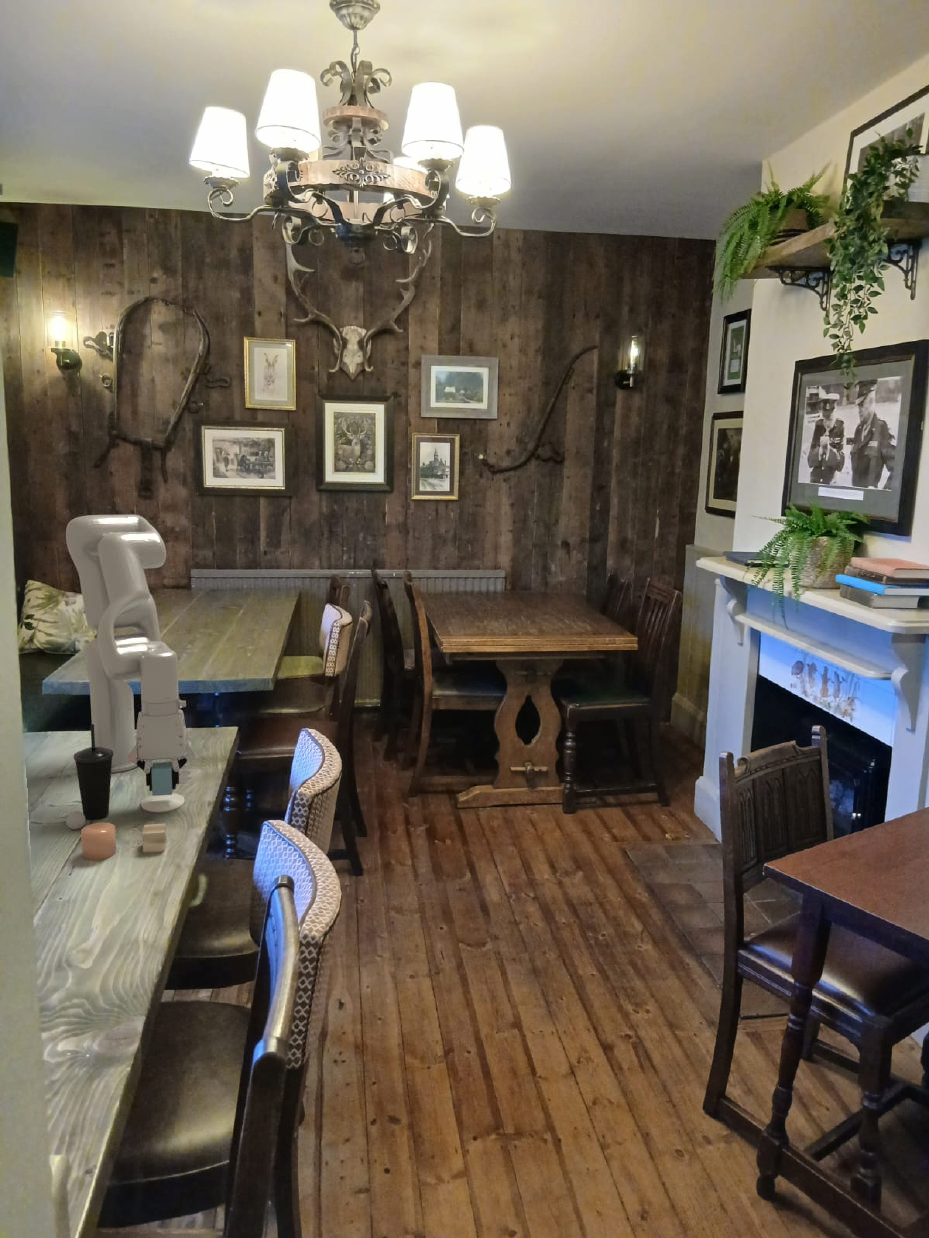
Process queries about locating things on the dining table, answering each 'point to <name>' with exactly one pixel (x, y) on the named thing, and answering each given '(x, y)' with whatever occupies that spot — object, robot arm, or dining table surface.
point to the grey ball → (75, 820)
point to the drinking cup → (94, 779)
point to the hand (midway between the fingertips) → (162, 786)
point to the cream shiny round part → (162, 803)
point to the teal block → (162, 778)
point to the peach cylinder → (98, 841)
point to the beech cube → (154, 838)
